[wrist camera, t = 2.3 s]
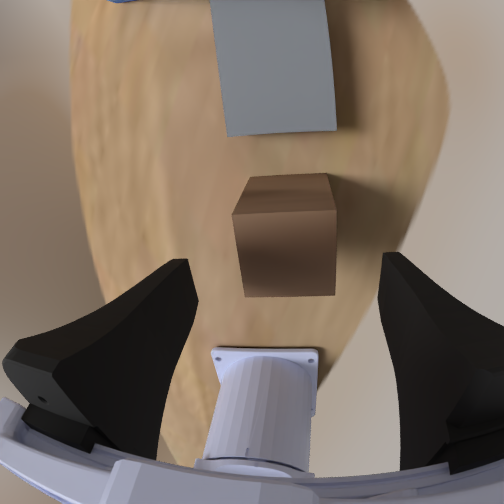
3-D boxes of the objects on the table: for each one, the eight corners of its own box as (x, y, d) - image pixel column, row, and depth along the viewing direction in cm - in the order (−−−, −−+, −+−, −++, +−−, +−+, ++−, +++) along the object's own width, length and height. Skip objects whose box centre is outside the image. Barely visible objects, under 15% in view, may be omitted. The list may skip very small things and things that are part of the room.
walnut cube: (327, 240, 18) (335, 295, 13) (258, 243, 18) (245, 297, 14) (326, 172, 16) (336, 210, 12) (250, 176, 16) (231, 214, 12)
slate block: (332, 124, 15) (336, 130, 13) (235, 130, 16) (227, 137, 14) (319, -3, 11) (322, -14, 10) (219, 6, 12) (209, -3, 11)
